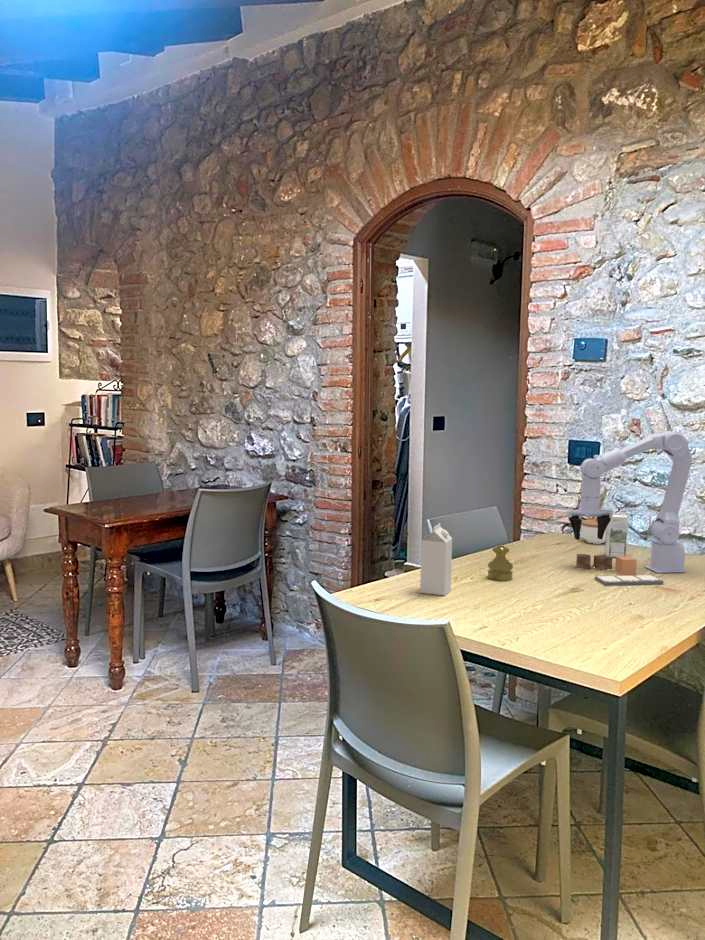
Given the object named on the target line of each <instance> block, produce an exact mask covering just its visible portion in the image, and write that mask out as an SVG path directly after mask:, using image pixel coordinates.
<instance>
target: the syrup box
mask: <svg viewBox="0 0 705 940" xmlns="http://www.w3.org/2000/svg"><path fill="white" fill-rule="evenodd" d="M610 518H611V521H610V522H609V524H608V526H607V527H606V541H605V542H604V544H605V545H604V546H605V547H604V548H605V549H604V555H606V556H609V557H612V558H613V557H616V556H627V555H626V553H627V538H628V525H629V523H628V522H629V518H628V515H627V514H625V513H613V517H610Z"/></svg>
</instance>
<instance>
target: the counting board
mask: <svg viewBox="0 0 705 940" xmlns="http://www.w3.org/2000/svg"><path fill="white" fill-rule="evenodd" d="M596 580H597V581H596ZM594 581H596V582H598V581H599V582H598V583H600V582H601V583H602V584H601V583H600V584H601V585H603V584H604V585H603V586H605V587H607V585H620V586H651V585H652V586H654V585H657V586H658V585H664V583H665V582H664V580H662V579H660V578H659V577H656V576H654V575H652V574H645V575H642V574H641V575H639V574H638V575H637V574H636V575H607V576H606V575H604V576H603V575H599V576H594Z"/></svg>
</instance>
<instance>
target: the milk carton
mask: <svg viewBox="0 0 705 940" xmlns="http://www.w3.org/2000/svg"><path fill="white" fill-rule="evenodd" d="M441 525H442V524H441V522H439V523H438V524H436V525H435V526H433V531H432V532H430V533H429V534H428V535H427V536H425V537H424V538H422V540H421V543H420V581H419V582H420V585H419V588H420V589H419V592H420V594H428V595H434V596H435V595H437V596H446V595H447V594H448V593H449V592H450V591H451V589H452V561H453V560H452V558H453V557H452V555H453V537H452V536H451V535H450V534H449V532H448V531H447V530H446V529H444V528H443V527H442V526H441Z"/></svg>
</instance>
